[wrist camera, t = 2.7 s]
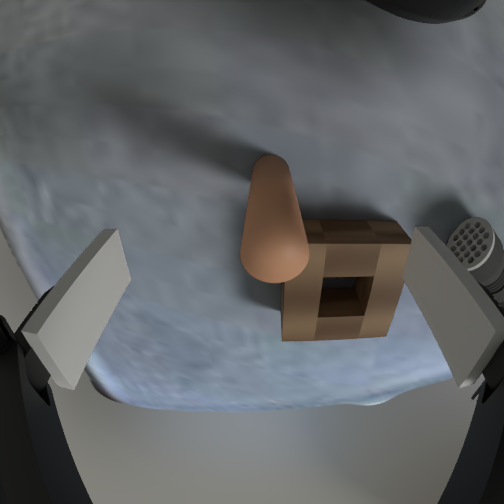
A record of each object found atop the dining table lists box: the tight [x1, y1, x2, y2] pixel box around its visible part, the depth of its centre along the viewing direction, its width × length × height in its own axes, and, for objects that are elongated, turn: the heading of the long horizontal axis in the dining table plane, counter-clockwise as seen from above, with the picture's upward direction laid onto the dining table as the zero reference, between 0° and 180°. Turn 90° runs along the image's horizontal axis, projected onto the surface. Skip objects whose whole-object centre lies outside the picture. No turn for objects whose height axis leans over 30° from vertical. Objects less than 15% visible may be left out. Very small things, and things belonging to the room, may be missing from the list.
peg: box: [240, 155, 309, 283], centre depth 17 cm, size 3×3×12 cm
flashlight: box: [447, 217, 504, 310], centre depth 24 cm, size 15×5×5 cm, turn 57°
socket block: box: [281, 220, 412, 341], centre depth 25 cm, size 10×10×4 cm
